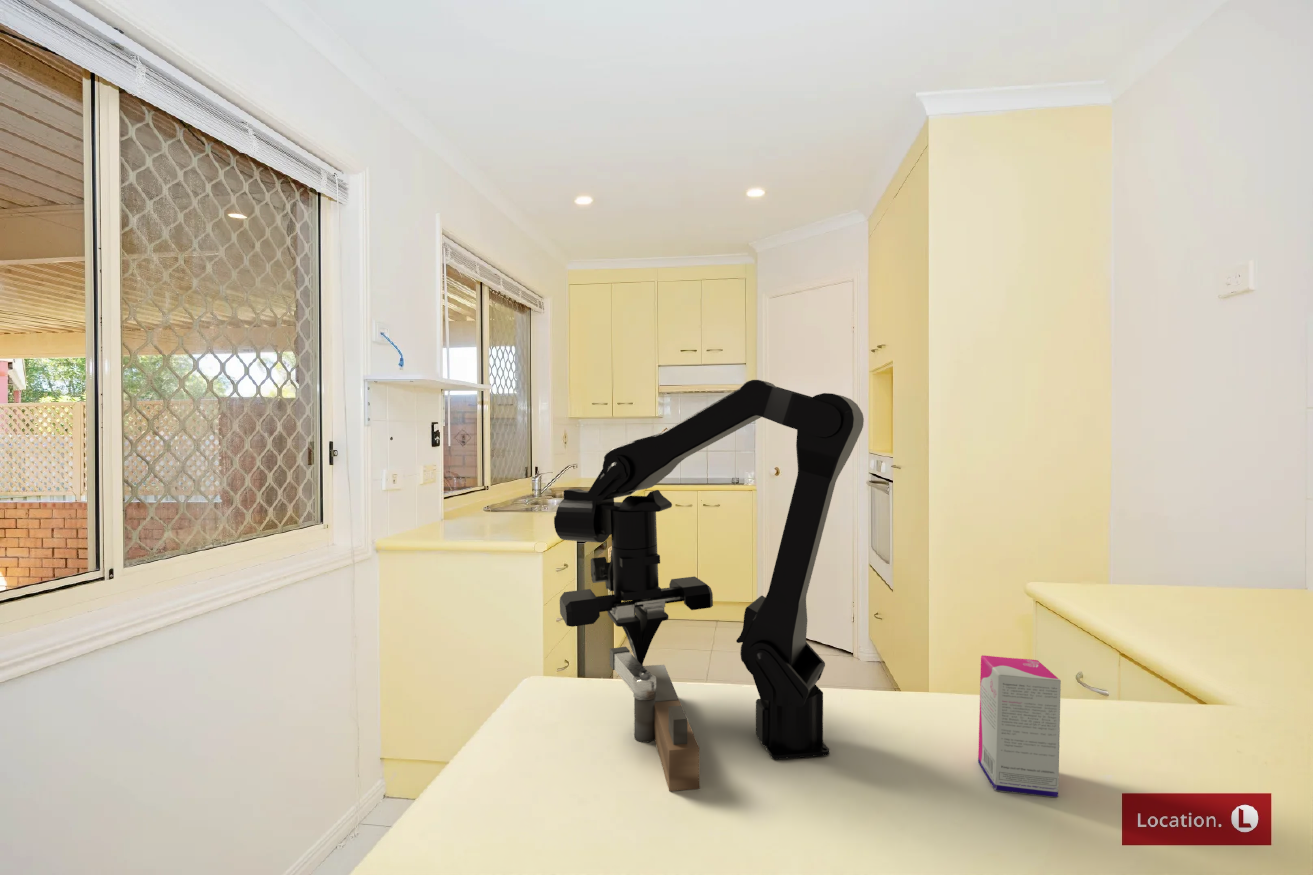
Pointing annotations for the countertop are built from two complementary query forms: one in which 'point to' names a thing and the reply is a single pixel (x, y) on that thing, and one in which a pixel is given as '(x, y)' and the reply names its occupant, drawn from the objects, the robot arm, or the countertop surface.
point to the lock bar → (633, 673)
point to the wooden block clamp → (668, 732)
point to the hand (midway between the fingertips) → (639, 666)
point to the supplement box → (1019, 726)
